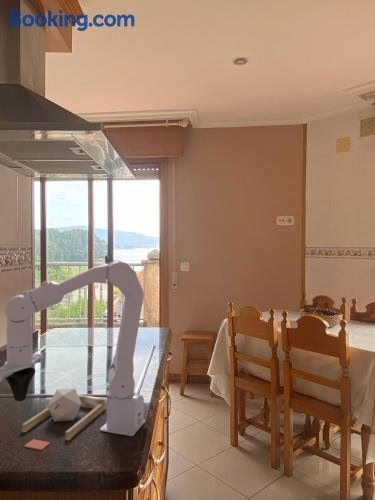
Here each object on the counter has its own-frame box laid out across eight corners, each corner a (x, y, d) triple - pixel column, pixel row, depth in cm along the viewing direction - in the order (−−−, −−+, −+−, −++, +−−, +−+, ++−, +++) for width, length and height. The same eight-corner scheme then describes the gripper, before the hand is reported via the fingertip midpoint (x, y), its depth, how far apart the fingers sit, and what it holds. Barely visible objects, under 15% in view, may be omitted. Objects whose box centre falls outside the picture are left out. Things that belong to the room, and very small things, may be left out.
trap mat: (50, 443, 86) (50, 442, 86) (41, 450, 84) (41, 449, 84) (33, 440, 88) (33, 439, 88) (24, 446, 85) (24, 445, 85)
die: (45, 418, 100) (39, 400, 95) (67, 394, 107) (63, 376, 101) (66, 434, 98) (62, 416, 92) (88, 408, 104) (85, 390, 98)
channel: (105, 408, 105) (105, 398, 105) (68, 440, 88) (68, 428, 88) (65, 402, 109) (65, 392, 109) (22, 431, 92) (22, 420, 92)
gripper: (27, 336, 95) (27, 386, 95) (-19, 351, 81) (-18, 410, 81) (49, 338, 93) (50, 389, 93) (6, 354, 79) (7, 415, 79)
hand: (20, 399), depth 87 cm, fingers closed
